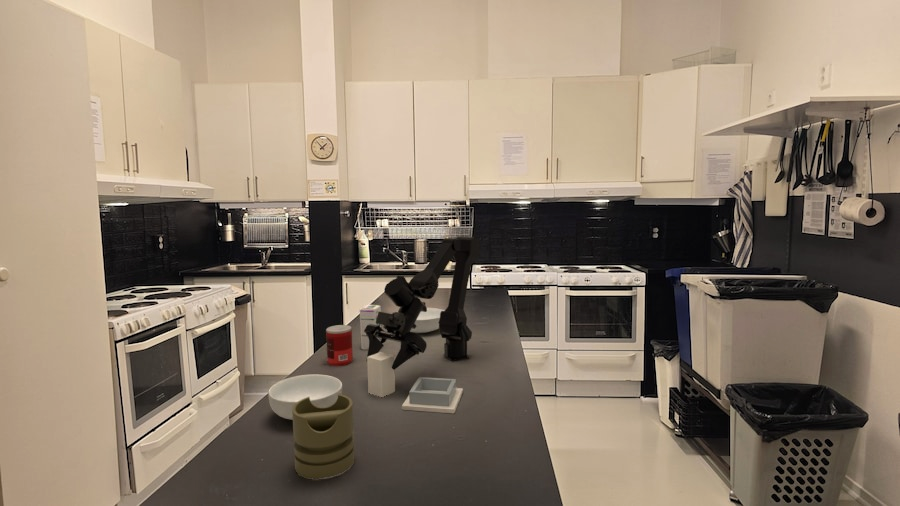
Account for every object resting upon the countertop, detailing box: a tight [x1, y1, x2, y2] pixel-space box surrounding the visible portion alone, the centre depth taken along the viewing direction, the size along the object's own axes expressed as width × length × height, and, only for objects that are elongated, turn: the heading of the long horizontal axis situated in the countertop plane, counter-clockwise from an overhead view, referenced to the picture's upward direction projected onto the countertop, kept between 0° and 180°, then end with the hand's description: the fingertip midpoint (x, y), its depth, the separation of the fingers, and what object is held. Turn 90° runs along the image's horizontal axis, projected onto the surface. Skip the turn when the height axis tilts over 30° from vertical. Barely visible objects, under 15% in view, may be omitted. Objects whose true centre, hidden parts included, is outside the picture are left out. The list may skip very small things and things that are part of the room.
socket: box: [401, 376, 464, 414], centre depth 125 cm, size 13×13×4 cm
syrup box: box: [359, 304, 384, 351], centre depth 168 cm, size 6×6×14 cm
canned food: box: [325, 324, 354, 367], centre depth 154 cm, size 8×8×11 cm
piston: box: [292, 394, 355, 479], centre depth 95 cm, size 11×12×11 cm
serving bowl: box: [396, 307, 445, 334], centre depth 190 cm, size 21×21×7 cm
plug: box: [366, 351, 396, 398], centre depth 130 cm, size 5×5×10 cm
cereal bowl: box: [267, 373, 343, 421], centre depth 117 cm, size 17×17×7 cm
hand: (380, 365), depth 129 cm, fingers open, 9 cm apart
